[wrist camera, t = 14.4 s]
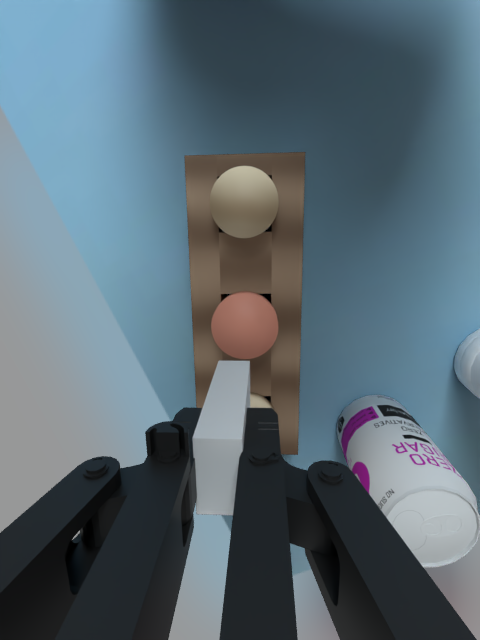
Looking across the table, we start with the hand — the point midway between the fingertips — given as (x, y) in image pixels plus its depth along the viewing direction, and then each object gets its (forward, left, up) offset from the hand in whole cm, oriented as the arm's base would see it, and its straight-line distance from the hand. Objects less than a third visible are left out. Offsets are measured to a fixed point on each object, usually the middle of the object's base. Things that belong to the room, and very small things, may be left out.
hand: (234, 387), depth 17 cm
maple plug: (-10, 0, -21) cm, 23 cm away
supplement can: (+14, +14, -22) cm, 30 cm away
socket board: (0, 0, -22) cm, 22 cm away
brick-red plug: (0, 0, -19) cm, 19 cm away
